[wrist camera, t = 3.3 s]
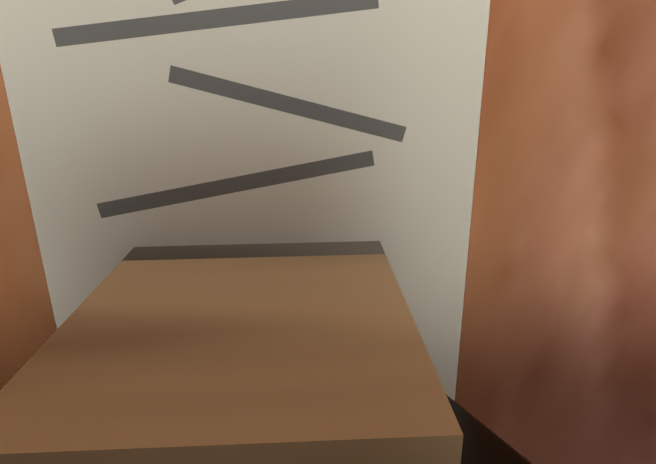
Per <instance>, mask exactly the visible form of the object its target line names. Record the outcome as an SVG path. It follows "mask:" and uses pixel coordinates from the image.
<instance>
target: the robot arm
mask: <svg viewBox="0 0 656 464" xmlns="http://www.w3.org/2000/svg"><path fill="white" fill-rule="evenodd" d="M446 396H447V398H448V400H449V403H450V405H451V407H452V410H453V412H454V414H455V417H456V419H457V421H458V423H459V426H460V428H461V430H462V433H463V445H462V455H461V464H532V463H530V462H529V461H528V460H527V459H525V458H524V457H523V456H522V455H520V454H519V453H518V452H517V451H516V450H514V449H513V448H512V447H511V446H509V445H508V444H507V443H506V442H504V441H503V440H502V439H501V438H499V437H498V436H497V435H496V434H495V433H493V432H492V431H491V430H490V429H488V428H487V427H486V426H485V425H483V424H482V423H481V422H480V421H478V420H477V419H476V418H475V417H474V416H472V415H471V414H470V413H469V412H467V411H466V410H465V409H464V408H462V407H461V406H460V405H459V404H457V403H456V402H455V401H454V400H453V399H451V398H450V397H449V396H448V395H446Z"/></svg>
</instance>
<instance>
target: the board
mask: <svg viewBox="0 0 656 464" xmlns="http://www.w3.org/2000/svg"><path fill="white" fill-rule="evenodd" d="M489 9H490V0H0V65H1V69H2V74H3V79H4V83H5V88H6V93H7V98H8V102H9V107H10V112H11V116H12V121H13V126H14V130H15V135H16V140H17V144H18V149H19V154H20V159H21V163H22V168H23V173H24V177H25V182H26V187H27V191H28V196H29V201H30V205H31V210H32V215H33V219H34V224H35V229H36V234H37V238H38V243H39V248H40V252H41V257H42V262H43V266H44V271H45V276H46V280H47V285H48V290H49V295H50V299H51V304H52V309H53V313H54V318H55V323H56V327H57V329H58V328H59V327H60V326H61V325H62V324H63V323H64V322H65V320H66V319H67V318H68V317H69V316H70V315H71V314H72V313H73V312H74V311H75V310H76V309H77V308H78V307H79V306H80V304H81V303H82V302H83V301H84V300H85V299H86V298H87V297H88V296H89V295H90V294H91V293H92V292H93V291H94V290H95V288H96V287H97V286H98V285H99V284H100V283H101V282H102V281H103V280H104V279H105V278H106V277H107V276H108V275H109V274H110V272H111V271H112V270H113V269H114V268H115V267H116V266H117V265H118V264H119V263H120V262H121V261H122V260H123V259H124V258H125V256H126V255H127V254H128V253H129V252H130V251H131V250H132V249H133V248H134V247H152V246H192V245H233V244H273V243H314V242H354V241H380V243H381V245H382V247H383V250H384V252H385V254H386V257H387V259H388V261H389V264H390V266H391V268H392V271H393V273H394V275H395V278H396V280H397V282H398V285H399V287H400V289H401V291H402V294H403V296H404V298H405V301H406V303H407V305H408V308H409V310H410V312H411V315H412V317H413V319H414V322H415V324H416V326H417V329H418V331H419V333H420V335H421V338H422V340H423V342H424V345H425V347H426V349H427V352H428V354H429V356H430V359H431V361H432V363H433V366H434V368H435V370H436V373H437V375H438V377H439V379H440V382H441V384H442V386H443V389H444V391H445V393H446V395H448V396H449V397H450V398H451V399H453V400H454V401H455V392H456V381H457V369H458V358H459V347H460V335H461V324H462V313H463V302H464V290H465V279H466V268H467V257H468V245H469V234H470V223H471V211H472V200H473V189H474V178H475V166H476V155H477V144H478V133H479V121H480V110H481V99H482V88H483V76H484V65H485V54H486V42H487V31H488V20H489Z"/></svg>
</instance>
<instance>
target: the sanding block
mask: <svg viewBox="0 0 656 464" xmlns="http://www.w3.org/2000/svg"><path fill="white" fill-rule="evenodd" d="M462 445H463V433H462V430H461V428H460V426H459V423H458V421H457V419H456V417H455V414H454V412H453V410H452V407H451V405H450V403H449V400H448V398H447V396H446V393H445V391H444V389H443V386H442V384H441V382H440V379H439V377H438V375H437V373H436V370H435V368H434V366H433V363H432V361H431V359H430V356H429V354H428V352H427V349H426V347H425V345H424V342H423V340H422V338H421V335H420V333H419V331H418V329H417V326H416V324H415V322H414V319H413V317H412V315H411V312H410V310H409V308H408V305H407V303H406V301H405V298H404V296H403V294H402V291H401V289H400V287H399V285H398V282H397V280H396V278H395V275H394V273H393V271H392V268H391V266H390V264H389V261H388V259H387V257H386V254H385V252H384V250H383V247H382V245H381V243H380V241H354V242H314V243H273V244H233V245H192V246H152V247H134V248H133V249H132V250H131V251H130V252H129V253H128V254H127V255H126V256H125V258H124V259H123V260H122V261H121V262H120V263H119V264H118V265H117V266H116V267H115V268H114V269H113V270H112V271H111V272H110V274H109V275H108V276H107V277H106V278H105V279H104V280H103V281H102V282H101V283H100V284H99V285H98V286H97V287H96V288H95V290H94V291H93V292H92V293H91V294H90V295H89V296H88V297H87V298H86V299H85V300H84V301H83V302H82V303H81V304H80V306H79V307H78V308H77V309H76V310H75V311H74V312H73V313H72V314H71V315H70V316H69V317H68V318H67V319H66V320H65V322H64V323H63V324H62V325H61V326H60V327H59V328H58V329H57V330H56V331H55V332H54V333H53V334H52V335H51V336H50V338H49V339H48V340H47V341H46V342H45V343H44V344H43V345H42V346H41V347H40V348H39V349H38V350H37V351H36V352H35V354H34V355H33V356H32V357H31V358H30V359H29V360H28V361H27V362H26V363H25V364H24V365H23V366H22V367H21V368H20V370H19V371H18V372H17V373H16V374H15V375H14V376H13V377H12V378H11V379H10V380H9V381H8V382H7V383H6V384H5V386H4V387H3V388H2V389H1V390H0V464H461V455H462Z"/></svg>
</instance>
